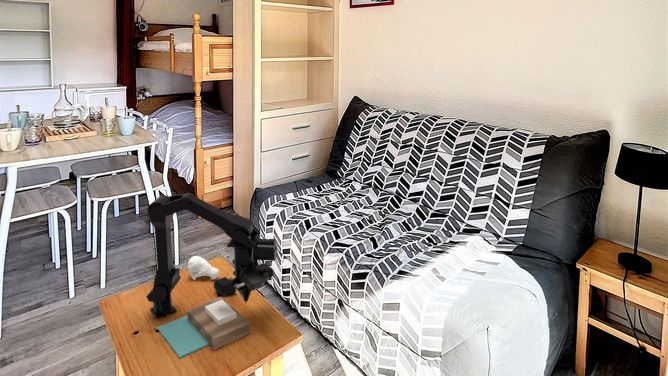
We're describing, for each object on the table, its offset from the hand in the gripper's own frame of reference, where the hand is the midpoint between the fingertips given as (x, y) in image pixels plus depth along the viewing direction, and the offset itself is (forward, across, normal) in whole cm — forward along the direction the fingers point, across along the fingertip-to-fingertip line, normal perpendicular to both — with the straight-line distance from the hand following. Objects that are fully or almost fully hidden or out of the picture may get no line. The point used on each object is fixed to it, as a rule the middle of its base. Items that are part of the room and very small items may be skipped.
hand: (245, 301), depth 142 cm
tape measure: (+6, +2, +17) cm, 18 cm away
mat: (+5, -20, +2) cm, 21 cm away
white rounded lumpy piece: (+6, 0, +30) cm, 31 cm away
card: (0, -9, 0) cm, 9 cm away
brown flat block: (+5, -10, 0) cm, 11 cm away
